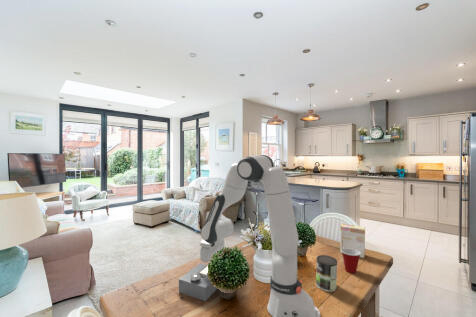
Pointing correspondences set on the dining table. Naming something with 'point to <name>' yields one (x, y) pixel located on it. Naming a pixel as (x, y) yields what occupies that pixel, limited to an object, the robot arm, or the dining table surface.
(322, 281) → the coffee can
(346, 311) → the dining table surface
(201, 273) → the cartridge
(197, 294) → the filter housing
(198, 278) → the plunger
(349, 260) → the plastic cup
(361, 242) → the coffeecake box
